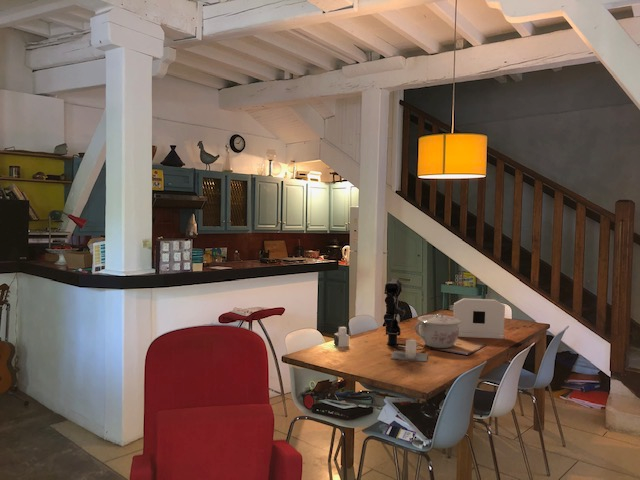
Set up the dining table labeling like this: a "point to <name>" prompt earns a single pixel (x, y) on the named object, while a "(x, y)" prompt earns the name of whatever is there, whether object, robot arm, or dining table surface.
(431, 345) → the chamber pot
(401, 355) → the mat
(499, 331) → the grey boxy block
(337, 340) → the grey bottle
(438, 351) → the dining table surface
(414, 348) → the canister
